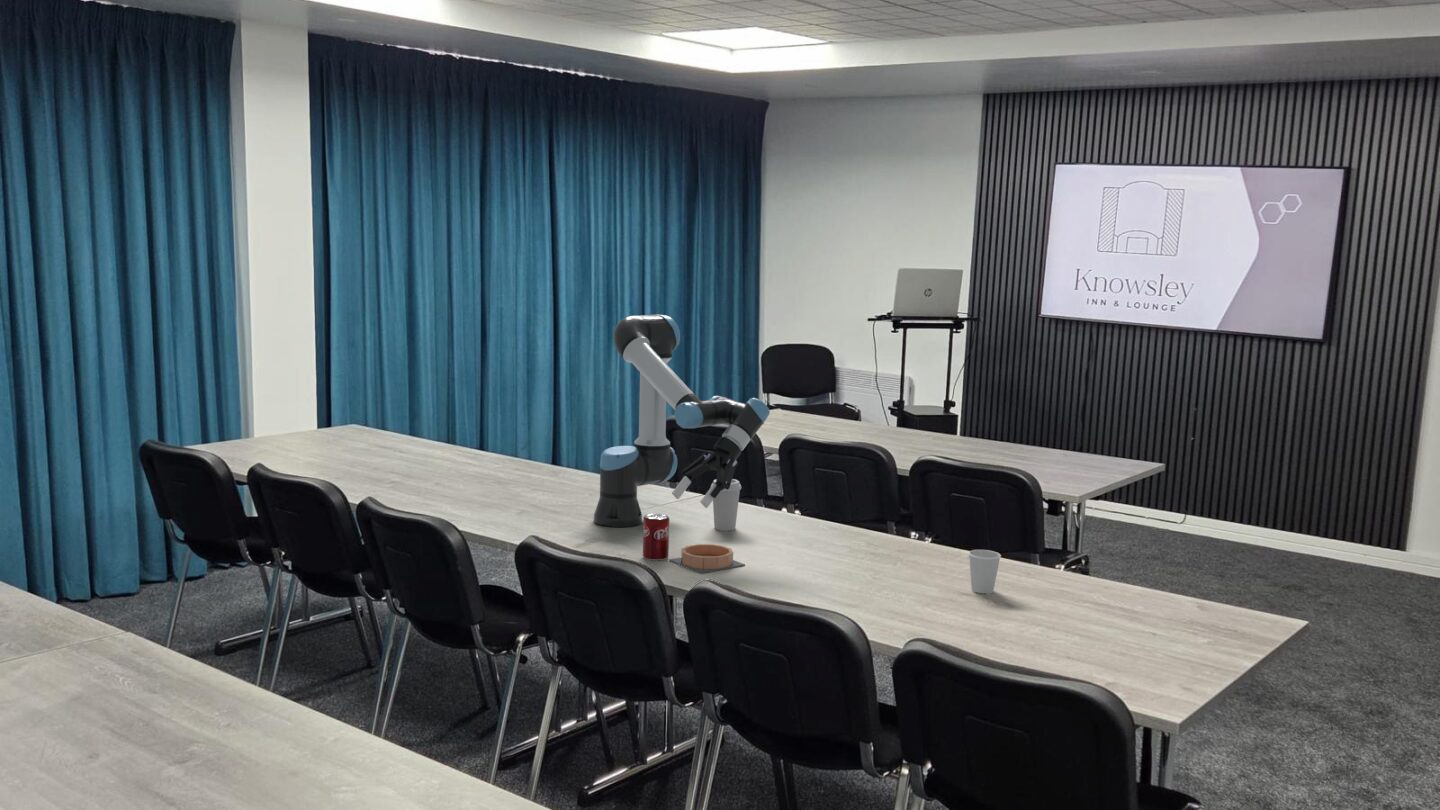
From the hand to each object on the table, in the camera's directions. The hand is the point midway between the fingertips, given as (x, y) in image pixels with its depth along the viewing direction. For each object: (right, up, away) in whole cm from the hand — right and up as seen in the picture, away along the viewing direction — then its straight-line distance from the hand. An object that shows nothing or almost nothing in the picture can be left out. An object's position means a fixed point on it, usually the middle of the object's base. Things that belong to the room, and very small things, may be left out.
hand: (688, 500), depth 337 cm
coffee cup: (+10, -11, +32) cm, 36 cm away
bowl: (+5, -17, -8) cm, 19 cm away
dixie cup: (+78, -22, -26) cm, 85 cm away
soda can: (-9, -16, -4) cm, 19 cm away
